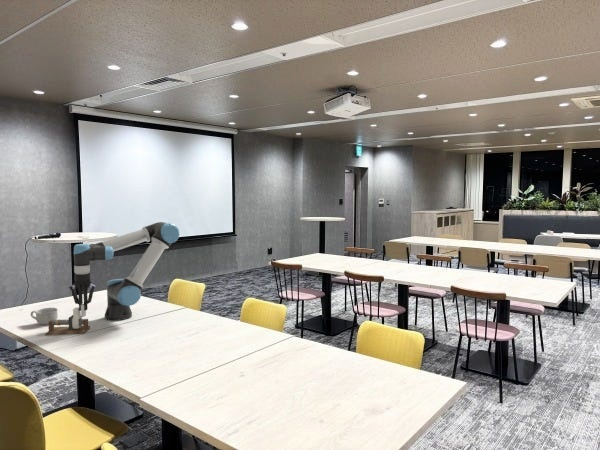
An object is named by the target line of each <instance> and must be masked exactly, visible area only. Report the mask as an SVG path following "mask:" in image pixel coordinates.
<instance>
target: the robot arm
mask: <svg viewBox="0 0 600 450" xmlns="http://www.w3.org/2000/svg"><path fill="white" fill-rule="evenodd" d="M179 238H180V229H179V227H178V226H177V225H176V224H174V223H171V222H164V221H158V222H155V223H152V224H149V225H146V226H143V227H142V228H141V229H140V230H135V231H132V232H129V233H126V234H123V235H119V236H117V237H113V238H110V239H107V240H103V241H101V242H97V243H79V244H75V245H74V246H73V261H74V265H73V267H74V268H73V270H74V271H73V272H74V283H73V284H72V285H70V286H69V287H68V288H69V290H70V291H71V294H72V297H73V301H74V305H75V304H76V305H78V307H79V310H80V313H81V317H82V318H85V317H86V314H87V310H89V309H88V304H90V303H92V300H93V295H94V290H95V288H96V287H97V286H96V285H95V284H93V283H92V281H91V273H90V272H91V262H96V261H98V262H99V261H108V260H112V259H113V258H114V253H115V251H116V252H117V251H119V250H123V249H126V248H129V247H132V246H135V245H138V244H141V243H144V242H146V243H150V242H151V243H150V244H149V246H148V247H147V248H146V250H145V251H144V253H143V254H142V256H141V258H140V259H139V261H138V262H137V264H136V266H135V267H134V268H133V270H132V271H131V273H130V274H129V276H127V277H124V278H117V279H115V278H114V279H110V280H108V281H107V282H106V293H107V294H106V297H107V298H106V299H107V300H106V301H107V305H106V306H107V307H106V309H105V312H104V320H106V321H111V322H112V321H115V322H116V321H124V320H128V319H130V318H132V317H133V312H132V309H131V306H133V305H136V304H137V303H138V302H139V301H140V299H141V297H142V296H141V295H142V294H141V292H142V290H143V289H144V285H143V284H144V282H145V280H147V277H148V276H149V274H150V272H151V271H152V269H153V268H154V267H155V266H156V264H157V262H158V260H159V259H160V258H161V256H162V254H163V253H164V251H165V250H167V249H169V248H170V246H171V245H172V244H173V243H176V242H177V241H178V239H179ZM76 289H77V290H76ZM89 289H90V290H89ZM88 291H89V294H88ZM77 292H78V293H77Z"/></svg>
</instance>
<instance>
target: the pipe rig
mask: <svg viewBox="0 0 600 450" xmlns="http://www.w3.org/2000/svg"><path fill="white" fill-rule="evenodd" d="M79 324H82V326H81V327H80V328H74V329H72V330H69V319H68V318H67V319H57V320H50V321H49V322H48V325H47V326H48V331H46V332H45V333H44V335H45V336H62V335H63V336H64V335H84V334H85V333H87V332H88V331H89V330H90V329H91V328H92V325H89V318H82V319H79Z"/></svg>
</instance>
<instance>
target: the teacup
mask: <svg viewBox="0 0 600 450" xmlns="http://www.w3.org/2000/svg"><path fill="white" fill-rule="evenodd" d="M58 310H59V309H58V308H57V307H43V308H40V309H37V310H32V311H31V312H30V317H31V318H32V319H33V320H35V321H36V323H37V324H39V325H41V326H49V325H48V322H49V321H50V320H58V315H59V314H58ZM34 314H35V315H34Z"/></svg>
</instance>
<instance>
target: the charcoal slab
mask: <svg viewBox="0 0 600 450" xmlns="http://www.w3.org/2000/svg"><path fill="white" fill-rule="evenodd" d="M72 318H73V314H72V315H71V316H70V317H68V318H67V320H68V319H69V325H68V326H69V330H72V329H73V327H72Z"/></svg>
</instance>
